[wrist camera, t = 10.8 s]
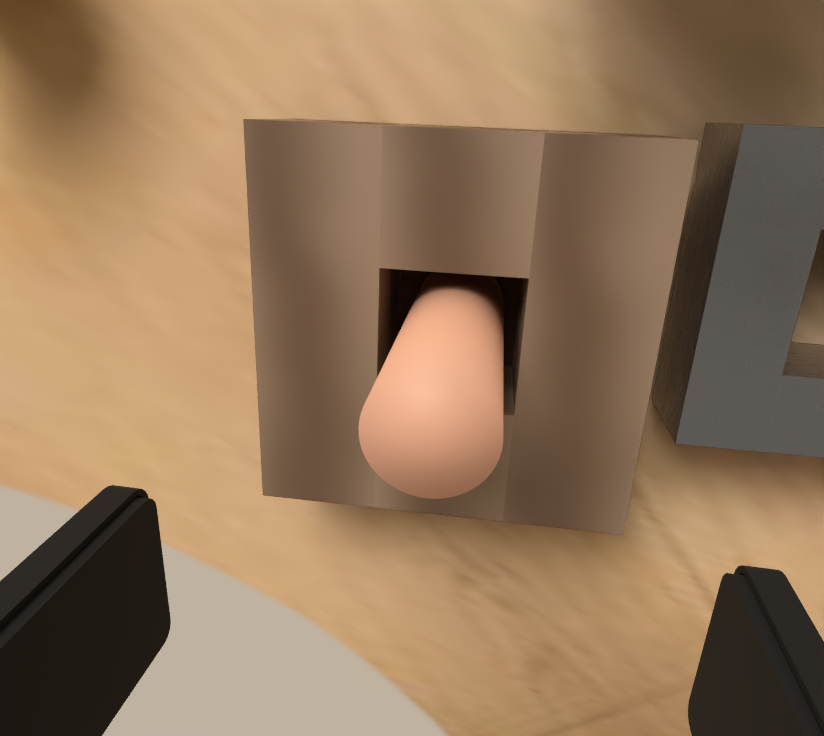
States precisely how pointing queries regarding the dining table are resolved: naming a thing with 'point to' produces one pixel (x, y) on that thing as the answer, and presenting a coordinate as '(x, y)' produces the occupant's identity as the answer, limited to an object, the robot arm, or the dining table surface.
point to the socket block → (463, 254)
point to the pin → (440, 391)
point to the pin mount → (747, 296)
